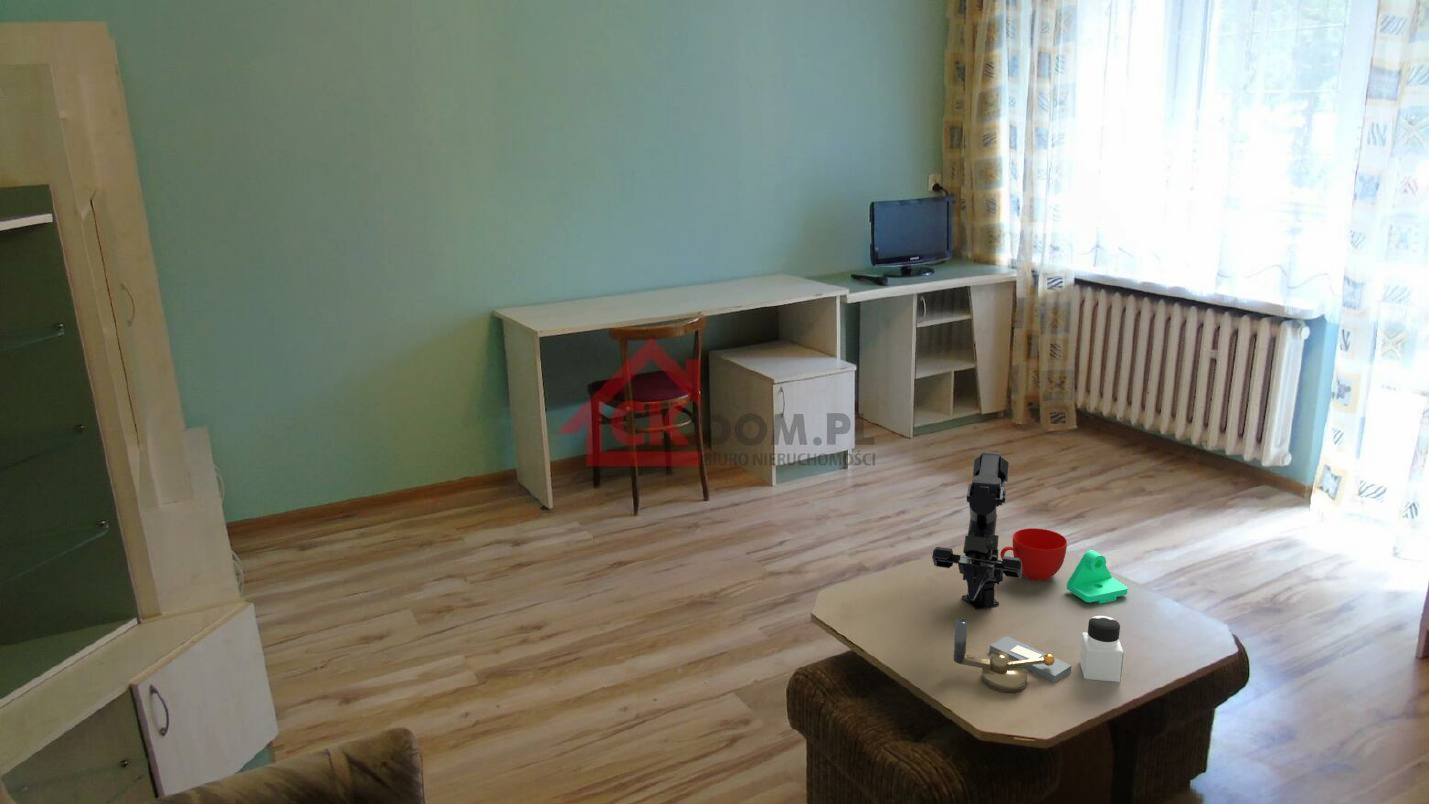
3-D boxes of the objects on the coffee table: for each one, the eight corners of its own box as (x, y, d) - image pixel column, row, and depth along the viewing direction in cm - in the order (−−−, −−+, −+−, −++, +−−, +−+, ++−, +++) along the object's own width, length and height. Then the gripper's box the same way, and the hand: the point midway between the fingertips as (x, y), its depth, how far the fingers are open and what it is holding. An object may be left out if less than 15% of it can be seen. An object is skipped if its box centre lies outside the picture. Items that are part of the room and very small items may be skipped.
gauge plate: (989, 651, 216) (990, 644, 216) (1006, 641, 220) (1006, 635, 219) (1054, 682, 204) (1055, 675, 204) (1071, 671, 208) (1071, 664, 207)
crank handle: (1053, 670, 208) (1058, 620, 204) (1049, 700, 198) (1054, 648, 194) (958, 653, 215) (960, 605, 212) (949, 681, 205) (952, 631, 201)
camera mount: (1087, 607, 234) (1090, 567, 231) (1066, 592, 241) (1069, 554, 238) (1128, 598, 238) (1132, 559, 235) (1107, 584, 245) (1110, 546, 242)
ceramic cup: (986, 569, 254) (988, 533, 251) (1045, 561, 258) (1048, 525, 255) (1012, 592, 242) (1015, 554, 239) (1074, 583, 246) (1078, 546, 243)
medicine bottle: (1120, 682, 204) (1126, 630, 200) (1084, 679, 205) (1089, 627, 201) (1114, 664, 210) (1119, 613, 207) (1079, 661, 212) (1083, 610, 208)
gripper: (935, 513, 217) (924, 580, 210) (1024, 524, 210) (1015, 594, 203) (940, 532, 226) (929, 597, 219) (1025, 543, 219) (1017, 611, 213)
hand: (971, 599), depth 213 cm, fingers closed
